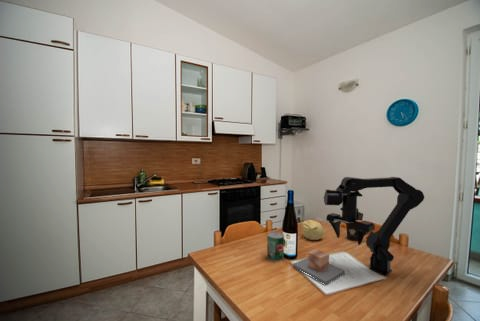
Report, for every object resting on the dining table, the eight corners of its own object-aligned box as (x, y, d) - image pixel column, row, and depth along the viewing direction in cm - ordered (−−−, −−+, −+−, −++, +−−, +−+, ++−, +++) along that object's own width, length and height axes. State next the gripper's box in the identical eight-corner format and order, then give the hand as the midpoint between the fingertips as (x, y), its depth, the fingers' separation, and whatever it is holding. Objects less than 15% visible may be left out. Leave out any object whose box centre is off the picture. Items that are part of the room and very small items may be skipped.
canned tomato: (283, 262, 98) (283, 238, 98) (266, 260, 100) (266, 237, 99) (283, 254, 106) (283, 232, 106) (267, 252, 107) (268, 231, 107)
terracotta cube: (328, 268, 90) (329, 254, 90) (320, 272, 87) (320, 258, 87) (316, 262, 95) (316, 249, 95) (308, 266, 92) (308, 252, 92)
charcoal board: (345, 274, 89) (345, 270, 89) (325, 285, 81) (325, 281, 81) (312, 258, 102) (312, 255, 102) (292, 267, 94) (292, 263, 94)
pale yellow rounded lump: (298, 235, 131) (298, 218, 131) (315, 233, 135) (315, 217, 134) (309, 243, 120) (310, 224, 120) (327, 240, 124) (327, 222, 124)
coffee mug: (342, 237, 129) (342, 221, 128) (351, 235, 132) (352, 219, 132) (360, 245, 118) (360, 227, 118) (369, 242, 122) (370, 225, 122)
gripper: (381, 207, 90) (380, 244, 90) (339, 200, 105) (338, 231, 106) (368, 211, 84) (367, 250, 84) (326, 202, 99) (325, 235, 99)
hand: (348, 240), depth 93 cm, fingers open, 9 cm apart
